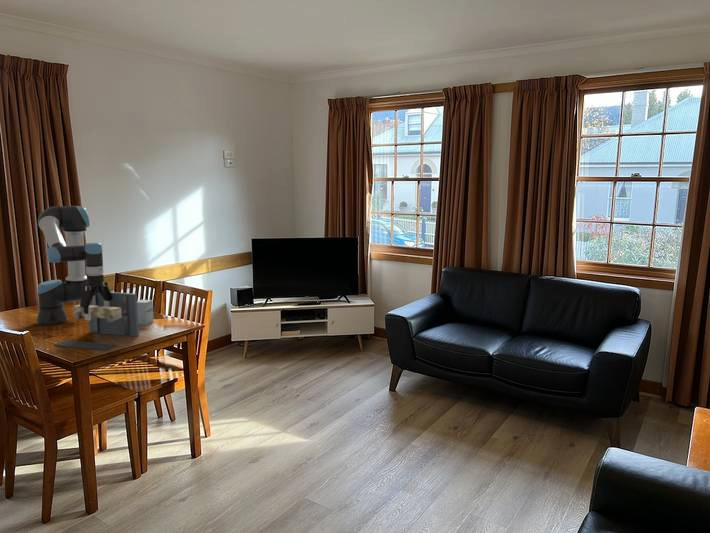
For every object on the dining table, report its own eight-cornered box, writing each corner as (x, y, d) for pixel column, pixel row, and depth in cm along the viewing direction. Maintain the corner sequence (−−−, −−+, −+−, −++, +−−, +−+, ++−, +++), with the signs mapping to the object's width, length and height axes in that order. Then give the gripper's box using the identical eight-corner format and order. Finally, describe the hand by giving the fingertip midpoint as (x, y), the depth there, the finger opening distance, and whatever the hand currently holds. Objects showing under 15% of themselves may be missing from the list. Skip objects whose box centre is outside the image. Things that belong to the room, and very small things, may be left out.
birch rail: (74, 315, 260) (73, 306, 259) (80, 313, 264) (79, 304, 263) (116, 319, 255) (115, 309, 254) (121, 317, 258) (121, 307, 258)
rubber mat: (53, 345, 251) (53, 344, 250) (66, 341, 258) (66, 339, 258) (104, 350, 245) (104, 349, 244) (116, 345, 252) (115, 344, 252)
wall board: (89, 332, 274) (87, 291, 271) (91, 331, 275) (89, 290, 272) (137, 336, 268) (134, 294, 264) (138, 335, 269) (136, 293, 266)
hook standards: (76, 340, 260) (73, 299, 256) (96, 332, 273) (93, 293, 270) (111, 343, 255) (109, 301, 252) (130, 335, 269) (127, 295, 265)
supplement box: (146, 325, 289) (145, 302, 287) (134, 324, 291) (133, 302, 289) (154, 321, 296) (153, 300, 294) (142, 320, 298) (141, 299, 296)
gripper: (83, 279, 243) (86, 323, 246) (118, 270, 267) (120, 311, 270) (69, 278, 245) (72, 322, 248) (105, 270, 269) (108, 310, 272)
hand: (97, 316), depth 259 cm, fingers open, 13 cm apart
